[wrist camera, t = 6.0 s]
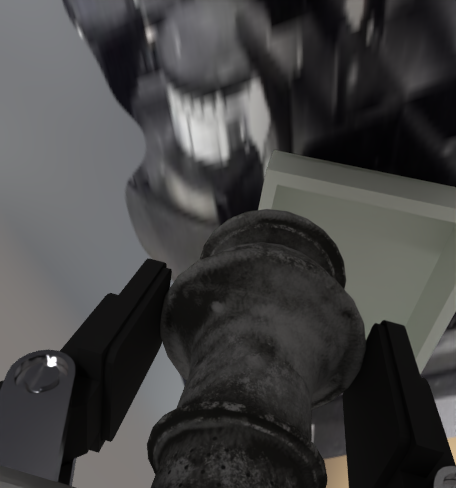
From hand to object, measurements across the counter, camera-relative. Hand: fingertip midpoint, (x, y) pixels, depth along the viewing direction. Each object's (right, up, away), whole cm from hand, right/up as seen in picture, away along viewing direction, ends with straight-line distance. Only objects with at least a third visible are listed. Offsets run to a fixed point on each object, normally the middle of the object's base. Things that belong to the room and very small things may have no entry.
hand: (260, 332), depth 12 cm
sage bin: (+8, +2, +18) cm, 20 cm away
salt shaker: (+1, +2, +3) cm, 3 cm away
